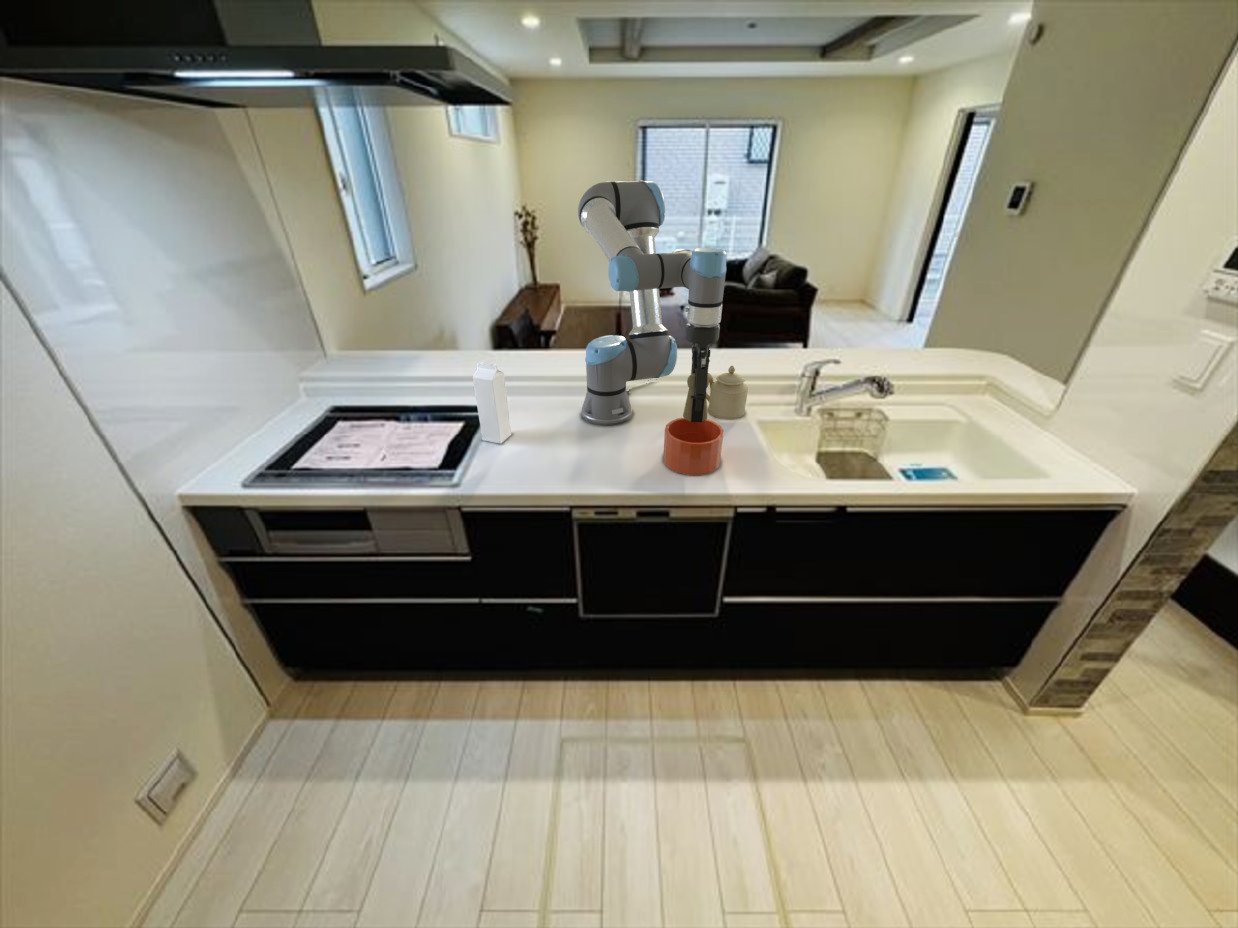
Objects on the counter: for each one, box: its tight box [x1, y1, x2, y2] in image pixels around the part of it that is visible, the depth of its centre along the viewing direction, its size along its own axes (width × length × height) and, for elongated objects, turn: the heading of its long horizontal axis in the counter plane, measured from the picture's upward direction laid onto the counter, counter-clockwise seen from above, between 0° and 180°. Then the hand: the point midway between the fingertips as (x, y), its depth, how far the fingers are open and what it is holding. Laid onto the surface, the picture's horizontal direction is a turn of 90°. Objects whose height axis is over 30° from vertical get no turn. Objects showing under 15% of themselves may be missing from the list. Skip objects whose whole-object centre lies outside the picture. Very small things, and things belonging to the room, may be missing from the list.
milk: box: [472, 361, 512, 445], centre depth 140 cm, size 6×6×22 cm
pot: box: [662, 417, 724, 476], centre depth 133 cm, size 15×15×9 cm
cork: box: [682, 373, 710, 421], centre depth 126 cm, size 6×6×11 cm
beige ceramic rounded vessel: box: [706, 365, 749, 420], centre depth 156 cm, size 15×11×15 cm
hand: (695, 415), depth 128 cm, fingers closed on cork, 6 cm apart
